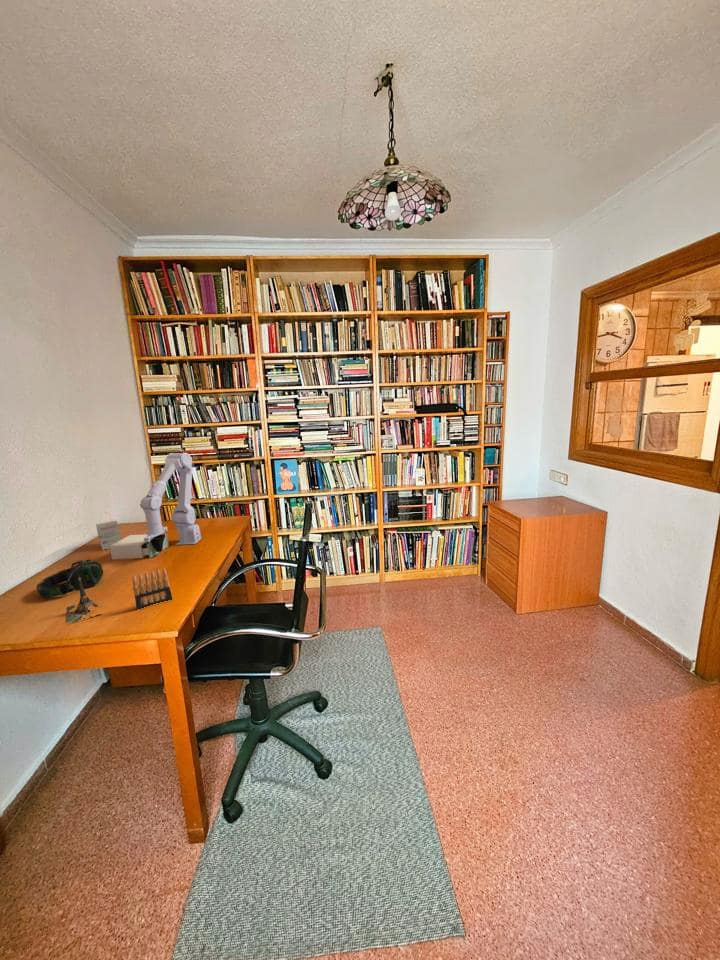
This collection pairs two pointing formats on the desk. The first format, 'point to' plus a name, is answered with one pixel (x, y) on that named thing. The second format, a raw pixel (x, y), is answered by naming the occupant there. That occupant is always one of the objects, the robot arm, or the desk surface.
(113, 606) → the desk surface
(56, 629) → the desk surface
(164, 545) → the drawer
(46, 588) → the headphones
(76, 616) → the eiffel tower figurine
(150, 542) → the walnut block
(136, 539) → the organizer
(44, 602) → the desk surface
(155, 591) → the ammunition clip
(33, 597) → the desk surface
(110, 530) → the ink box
